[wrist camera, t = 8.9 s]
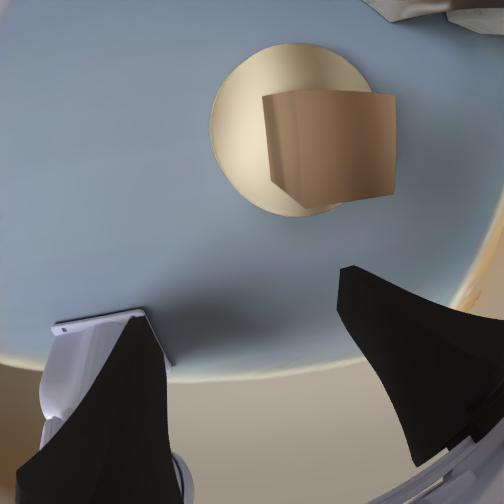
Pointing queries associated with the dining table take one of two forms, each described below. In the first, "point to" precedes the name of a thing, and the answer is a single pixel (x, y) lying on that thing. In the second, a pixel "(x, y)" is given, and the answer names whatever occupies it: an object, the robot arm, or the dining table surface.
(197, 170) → the dining table surface
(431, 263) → the dining table surface
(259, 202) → the birch board
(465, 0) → the coffee box
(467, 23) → the supplement box
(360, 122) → the walnut block
